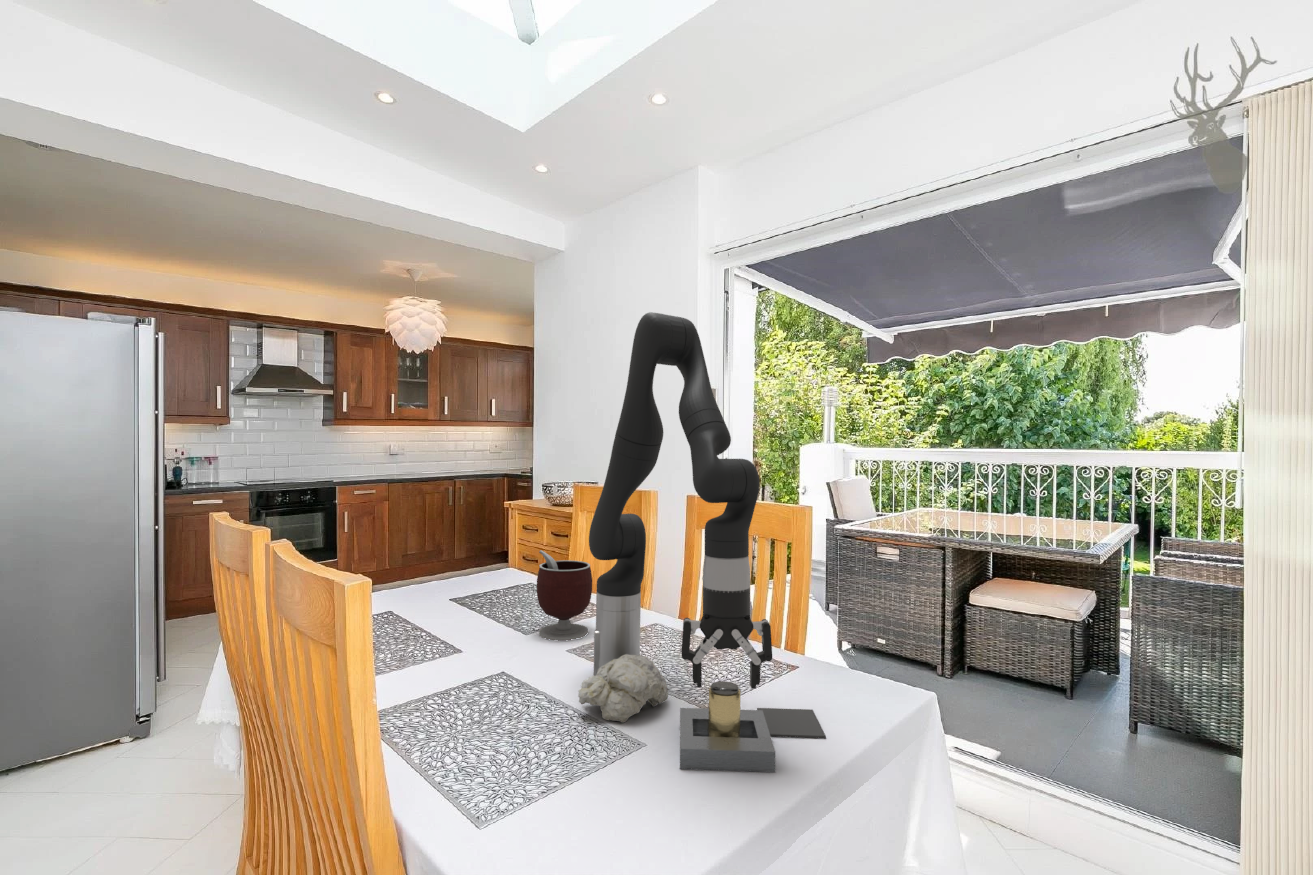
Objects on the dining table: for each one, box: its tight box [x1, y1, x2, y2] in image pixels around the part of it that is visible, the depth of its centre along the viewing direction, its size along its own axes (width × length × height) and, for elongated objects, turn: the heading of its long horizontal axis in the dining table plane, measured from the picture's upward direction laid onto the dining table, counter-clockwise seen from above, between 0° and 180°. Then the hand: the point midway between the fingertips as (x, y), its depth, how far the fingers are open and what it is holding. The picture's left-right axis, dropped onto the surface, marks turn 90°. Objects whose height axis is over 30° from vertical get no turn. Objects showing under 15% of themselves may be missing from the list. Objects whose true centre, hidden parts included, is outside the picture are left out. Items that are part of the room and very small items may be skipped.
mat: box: [756, 707, 827, 739], centre depth 105 cm, size 10×10×1 cm
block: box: [679, 707, 776, 773], centre depth 97 cm, size 14×14×3 cm
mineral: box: [577, 654, 669, 724], centre depth 110 cm, size 12×17×10 cm
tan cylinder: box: [708, 680, 741, 738], centre depth 97 cm, size 5×5×10 cm
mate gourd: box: [536, 550, 593, 642], centre depth 154 cm, size 16×14×20 cm
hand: (726, 686), depth 97 cm, fingers open, 8 cm apart
